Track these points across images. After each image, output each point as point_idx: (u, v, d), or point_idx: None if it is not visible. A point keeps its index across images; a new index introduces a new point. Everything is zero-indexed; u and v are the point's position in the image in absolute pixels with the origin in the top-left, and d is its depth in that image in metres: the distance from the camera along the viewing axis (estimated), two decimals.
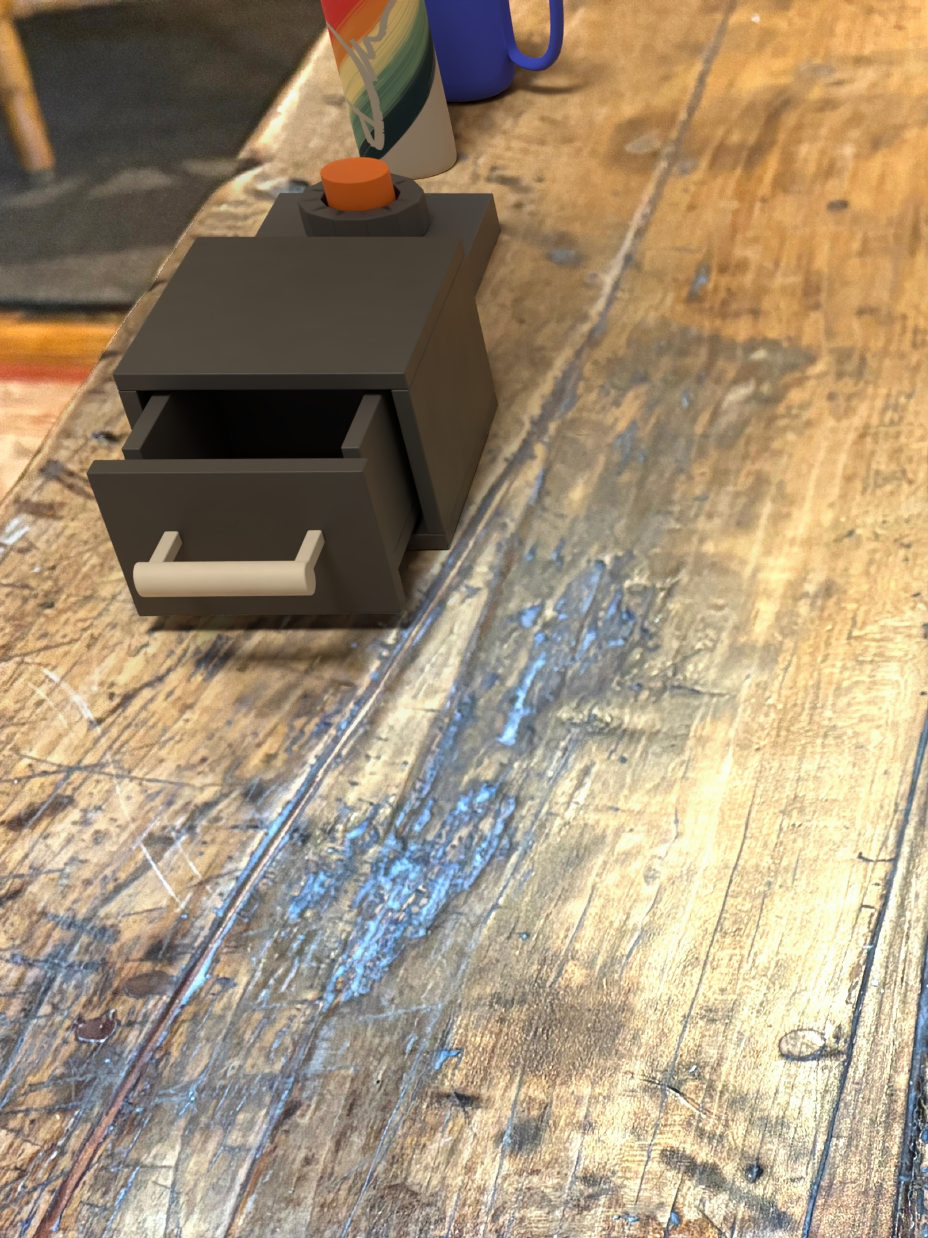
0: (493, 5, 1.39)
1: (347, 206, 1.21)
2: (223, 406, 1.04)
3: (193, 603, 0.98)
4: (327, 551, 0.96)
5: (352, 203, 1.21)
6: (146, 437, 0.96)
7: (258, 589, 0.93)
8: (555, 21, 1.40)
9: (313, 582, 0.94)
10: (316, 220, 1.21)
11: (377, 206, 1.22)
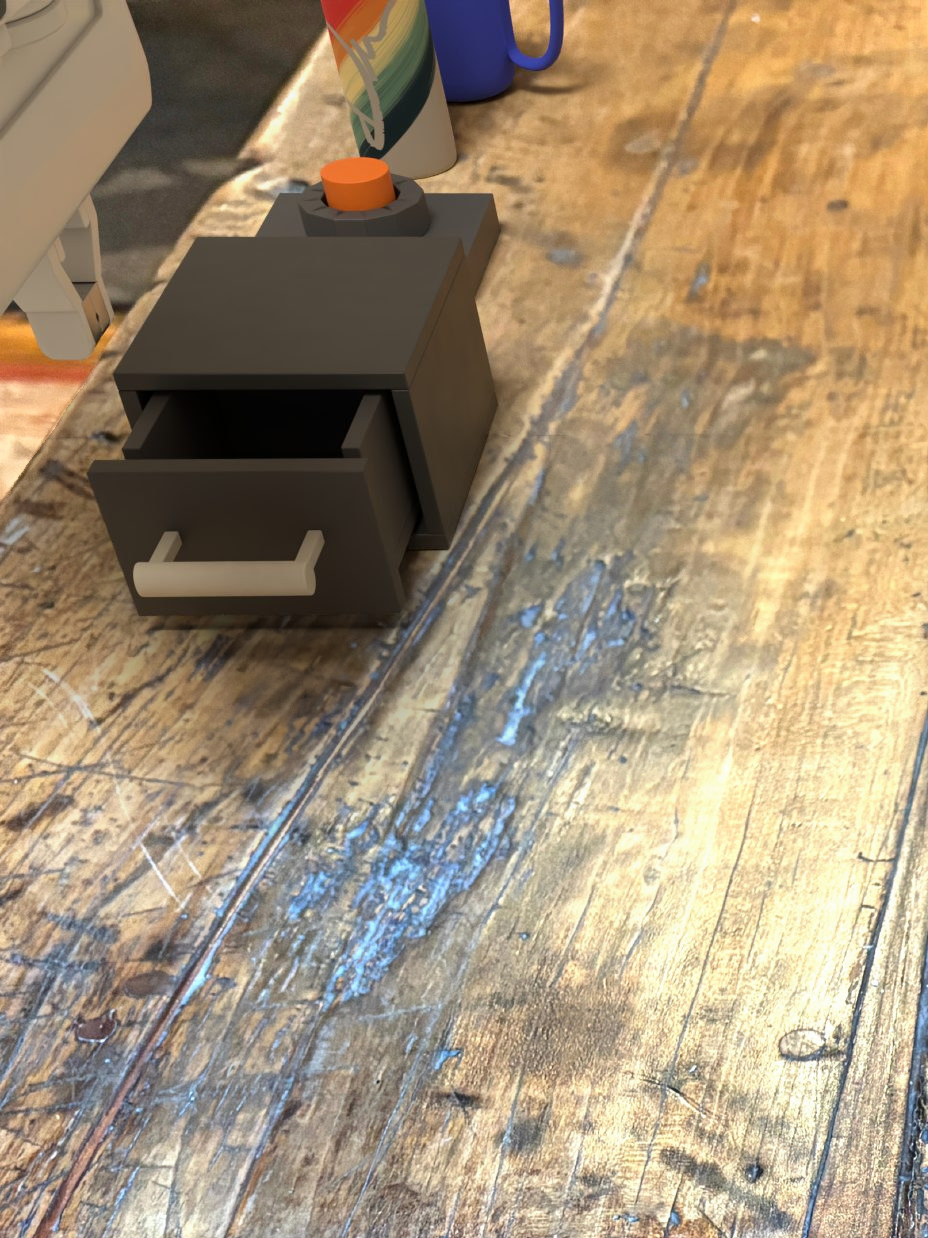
0: (493, 5, 1.39)
1: (347, 206, 1.21)
2: (223, 406, 1.04)
3: (193, 603, 0.98)
4: (327, 551, 0.96)
5: (352, 203, 1.21)
6: (146, 437, 0.96)
7: (258, 589, 0.93)
8: (555, 21, 1.40)
9: (313, 582, 0.94)
10: (316, 220, 1.21)
11: (377, 206, 1.22)
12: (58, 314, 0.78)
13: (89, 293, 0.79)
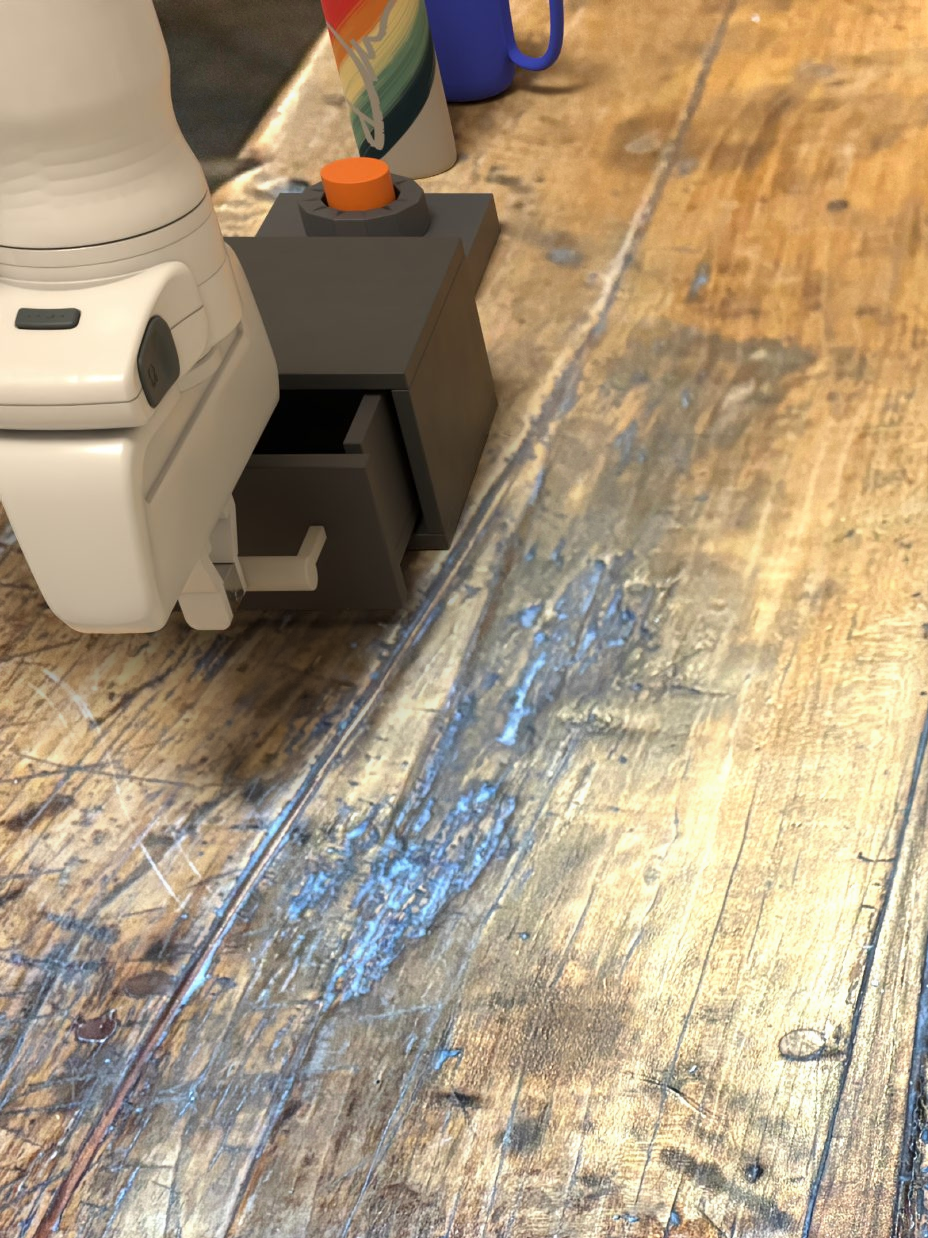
0: (493, 5, 1.39)
1: (347, 206, 1.21)
2: None
3: None
4: (329, 546, 0.97)
5: (352, 203, 1.21)
6: None
7: (260, 584, 0.93)
8: (555, 21, 1.40)
9: (315, 577, 0.94)
10: (316, 220, 1.21)
11: (377, 206, 1.22)
12: (203, 594, 0.90)
13: (229, 574, 0.91)
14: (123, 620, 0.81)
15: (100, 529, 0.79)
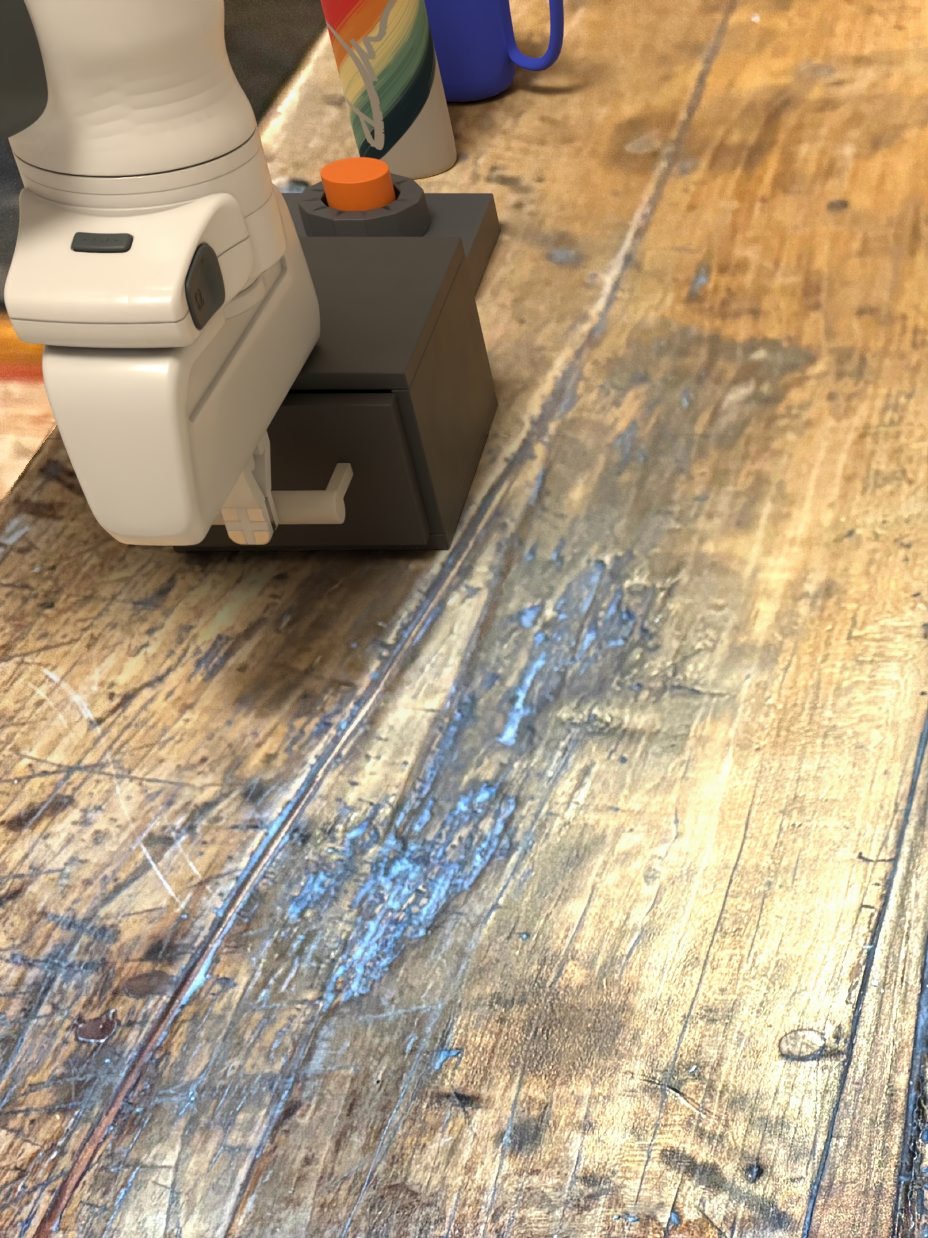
0: (493, 5, 1.39)
1: (347, 206, 1.21)
2: None
3: (226, 534, 1.02)
4: (356, 483, 1.01)
5: (352, 203, 1.21)
6: None
7: (290, 517, 0.97)
8: (555, 21, 1.40)
9: (343, 511, 0.98)
10: (316, 220, 1.21)
11: (377, 206, 1.22)
12: (245, 509, 0.95)
13: (261, 508, 0.95)
14: (164, 532, 0.86)
15: (145, 443, 0.84)
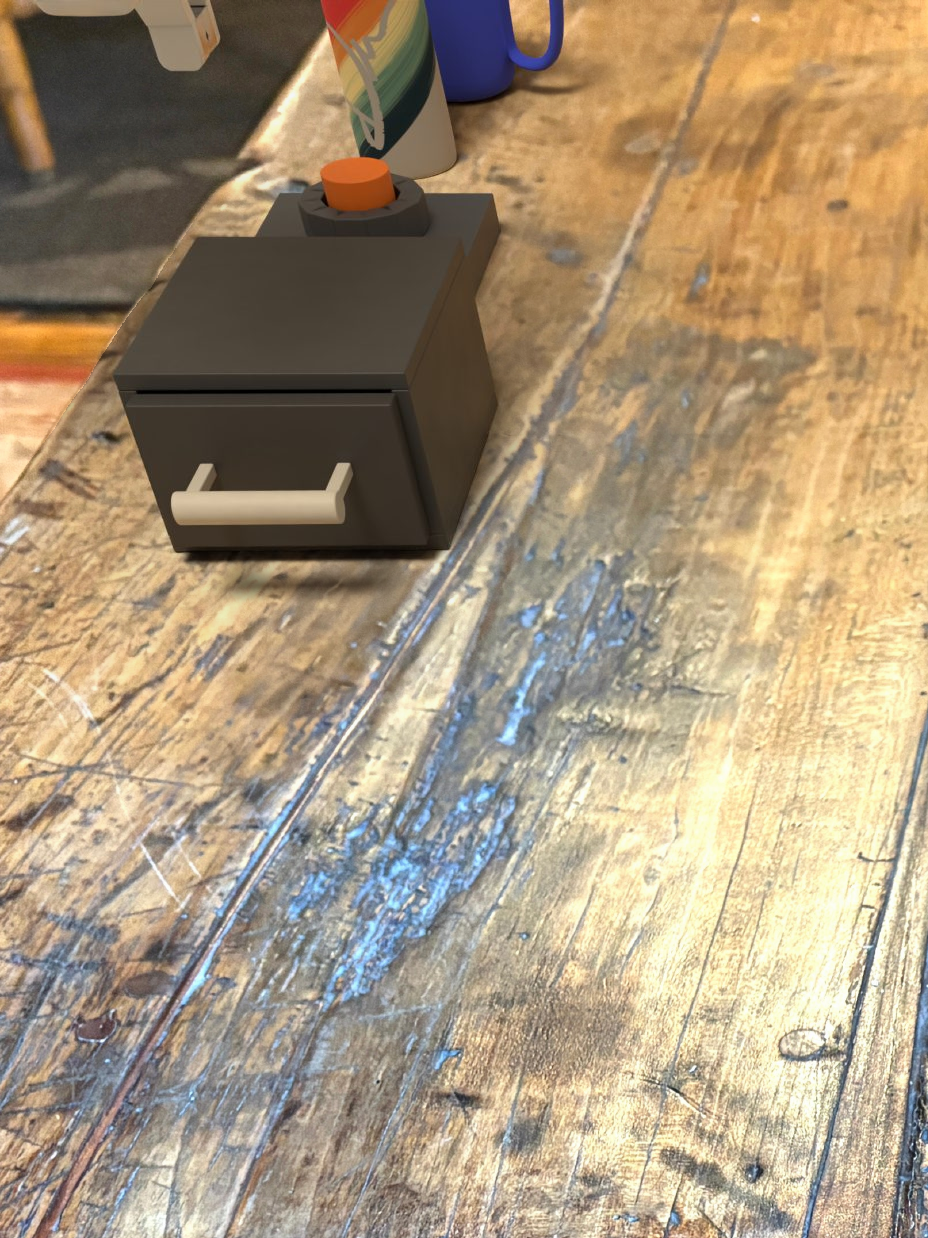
0: (493, 5, 1.39)
1: (347, 206, 1.21)
2: None
3: (226, 534, 1.02)
4: (356, 483, 1.01)
5: (352, 203, 1.21)
6: None
7: (290, 517, 0.97)
8: (555, 21, 1.40)
9: (343, 511, 0.98)
10: (316, 220, 1.21)
11: (377, 206, 1.22)
12: (175, 28, 0.92)
13: (201, 14, 0.93)
14: None
15: None
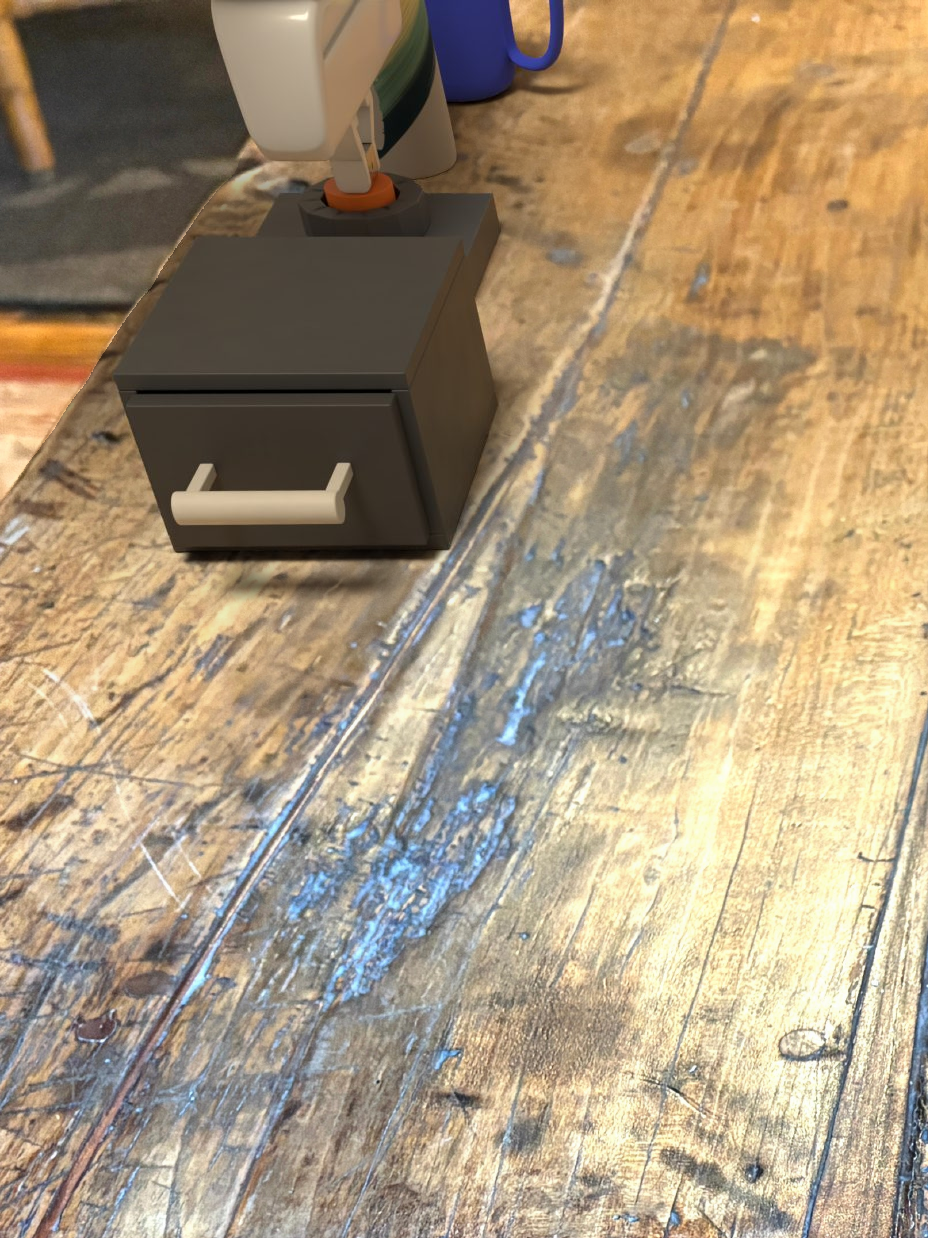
0: (493, 5, 1.39)
1: None
2: None
3: (226, 534, 1.02)
4: (356, 483, 1.01)
5: None
6: None
7: (290, 517, 0.97)
8: (555, 21, 1.40)
9: (343, 511, 0.98)
10: (316, 220, 1.21)
11: None
12: (350, 162, 1.20)
13: (368, 150, 1.21)
14: (304, 147, 1.11)
15: (291, 71, 1.09)
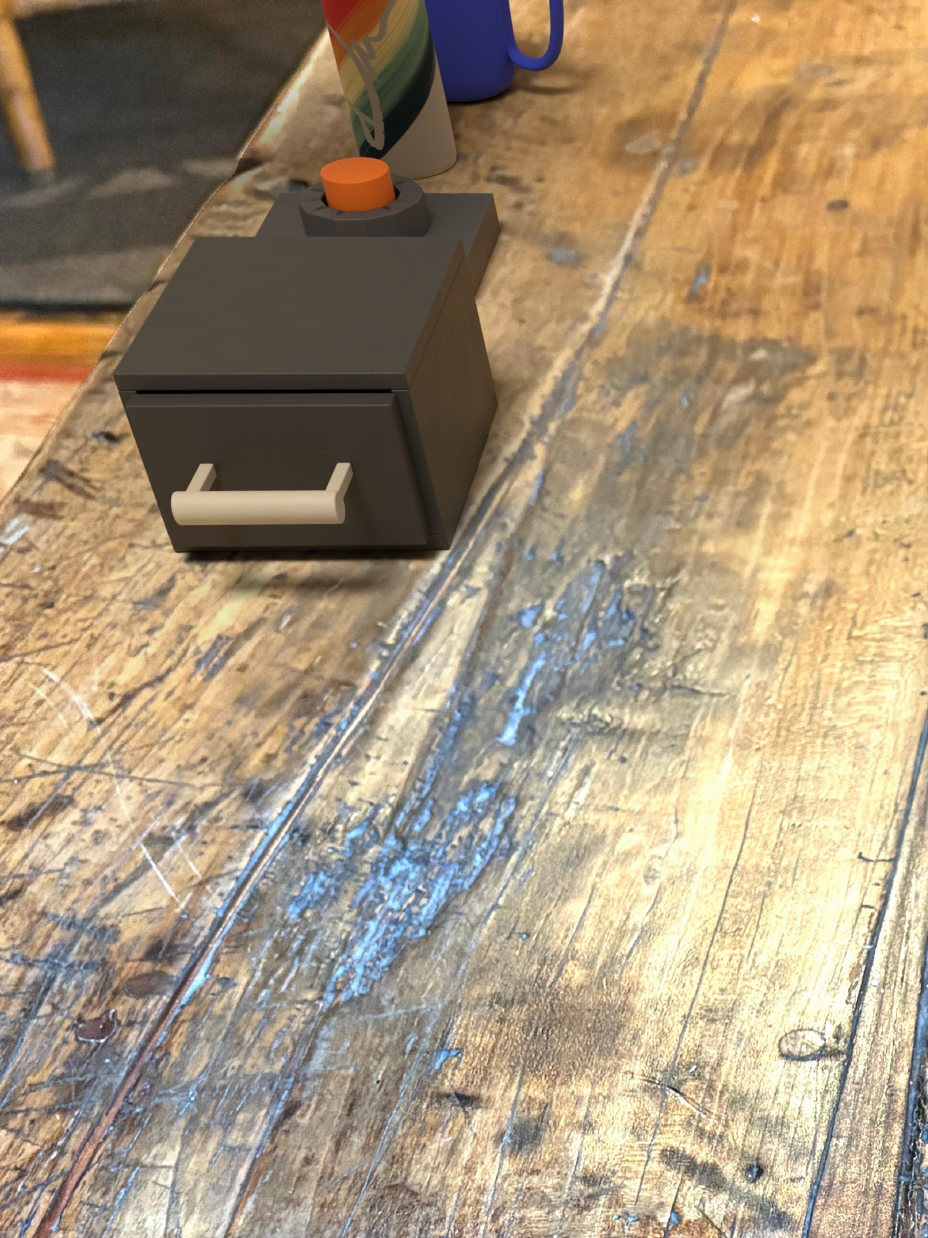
0: (493, 5, 1.39)
1: (347, 206, 1.21)
2: None
3: (226, 534, 1.02)
4: (356, 483, 1.01)
5: (352, 203, 1.21)
6: None
7: (290, 517, 0.97)
8: (555, 21, 1.40)
9: (343, 511, 0.98)
10: (316, 220, 1.21)
11: (377, 206, 1.22)
12: None
13: None
14: None
15: None
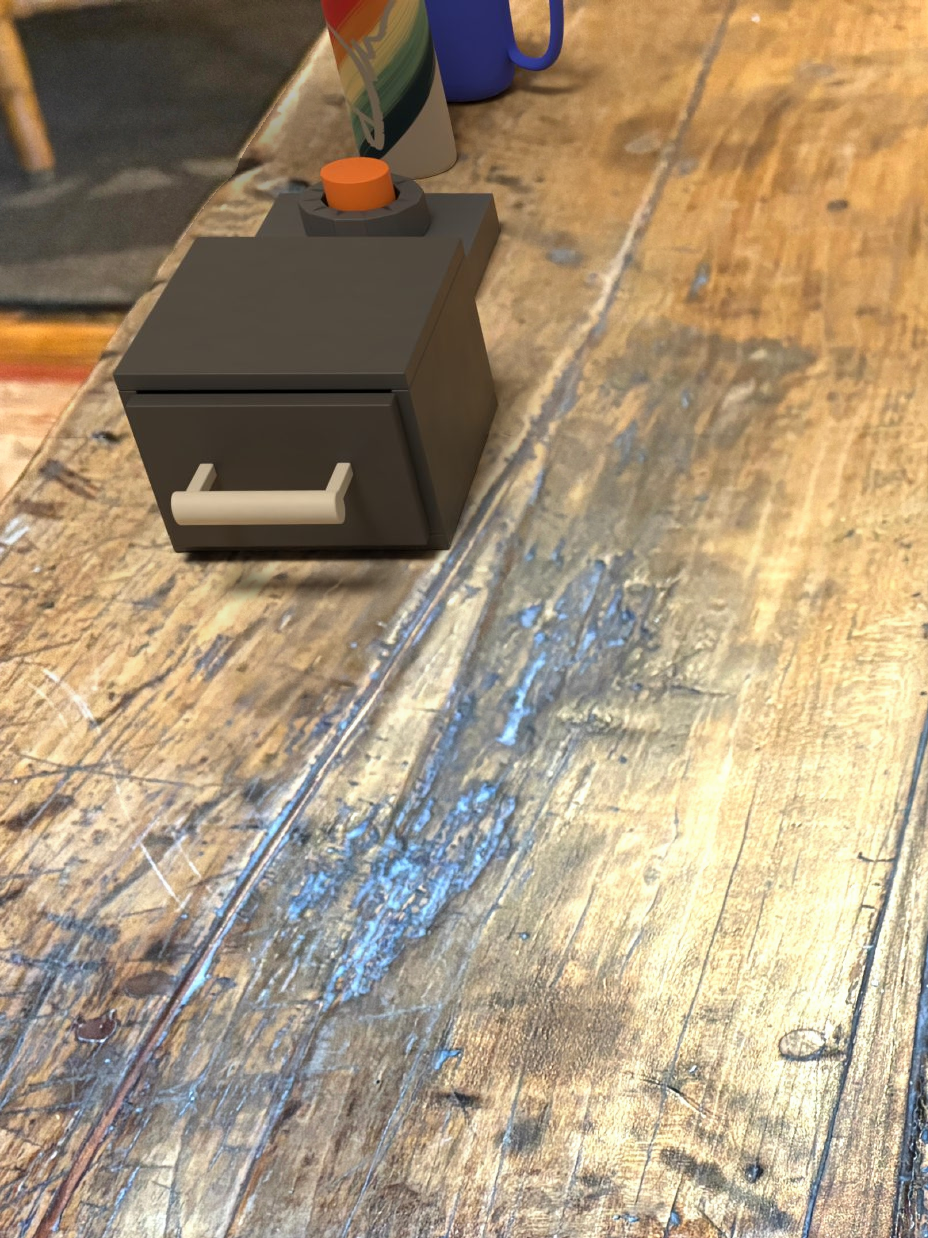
0: (493, 5, 1.39)
1: (347, 206, 1.21)
2: None
3: (226, 534, 1.02)
4: (356, 483, 1.01)
5: (352, 203, 1.21)
6: None
7: (290, 517, 0.97)
8: (555, 21, 1.40)
9: (343, 511, 0.98)
10: (316, 220, 1.21)
11: (377, 206, 1.22)
12: None
13: None
14: None
15: None
